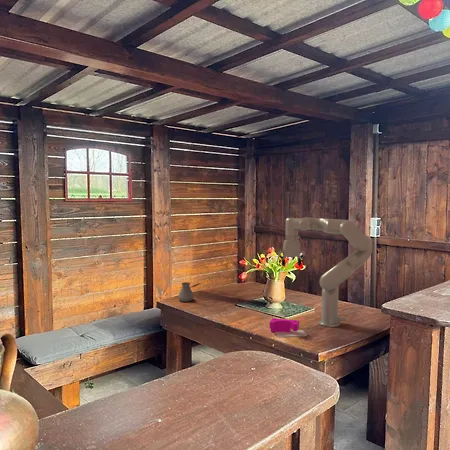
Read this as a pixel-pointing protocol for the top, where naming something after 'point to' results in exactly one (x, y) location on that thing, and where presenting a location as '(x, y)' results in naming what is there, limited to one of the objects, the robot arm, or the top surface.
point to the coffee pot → (186, 292)
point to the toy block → (283, 325)
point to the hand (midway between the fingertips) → (291, 265)
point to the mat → (291, 333)
